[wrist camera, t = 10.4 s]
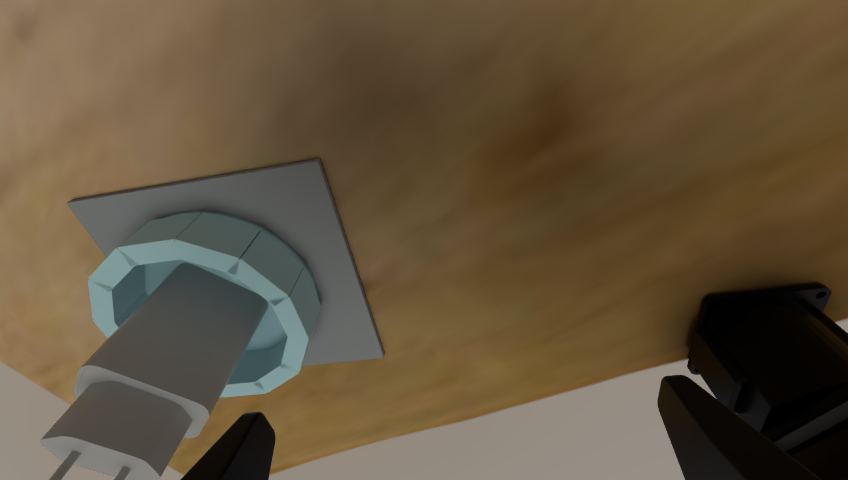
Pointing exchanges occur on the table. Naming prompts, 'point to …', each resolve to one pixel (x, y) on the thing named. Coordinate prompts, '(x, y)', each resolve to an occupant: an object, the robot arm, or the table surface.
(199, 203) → the mat
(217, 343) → the power adapter
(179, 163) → the table surface
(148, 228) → the bowl
